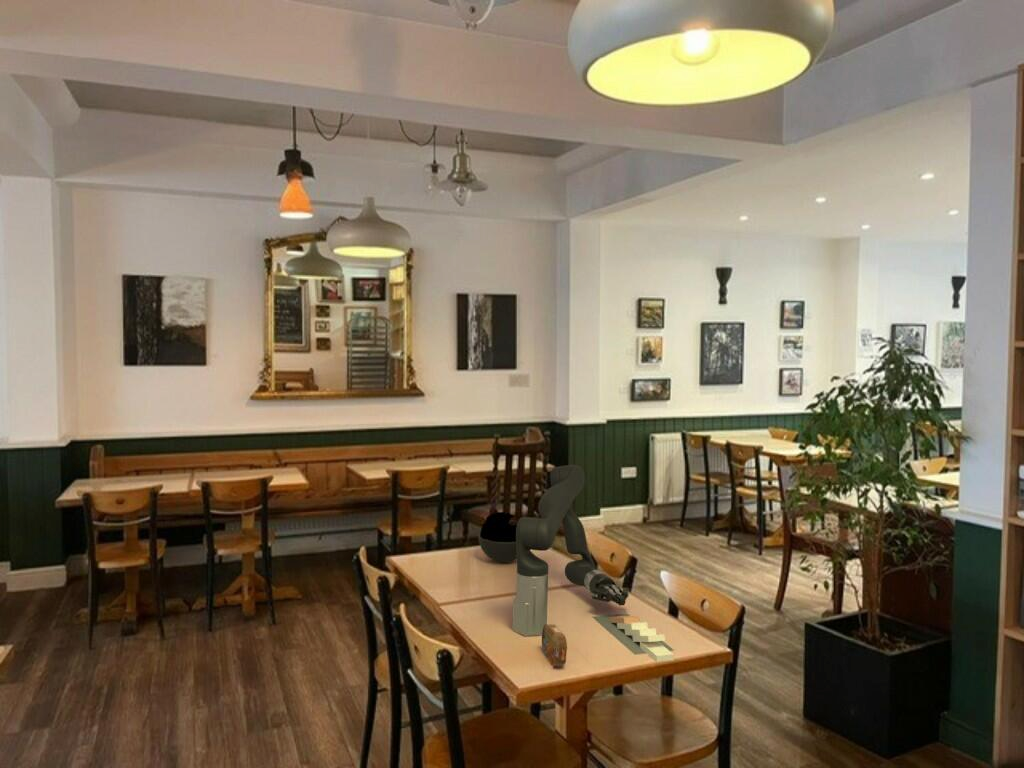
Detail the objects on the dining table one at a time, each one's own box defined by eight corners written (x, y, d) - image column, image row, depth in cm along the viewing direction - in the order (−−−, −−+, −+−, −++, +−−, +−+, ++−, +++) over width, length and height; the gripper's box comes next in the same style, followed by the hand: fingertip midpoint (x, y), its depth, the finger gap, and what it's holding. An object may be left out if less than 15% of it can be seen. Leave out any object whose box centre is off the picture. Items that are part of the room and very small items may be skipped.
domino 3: (624, 629, 220) (639, 629, 211) (640, 627, 221) (655, 628, 212) (625, 635, 219) (640, 635, 210) (640, 633, 221) (656, 634, 212)
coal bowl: (507, 552, 309) (508, 506, 308) (540, 563, 293) (541, 515, 293) (467, 559, 296) (468, 512, 295) (499, 572, 281) (500, 521, 280)
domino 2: (616, 622, 225) (631, 623, 216) (632, 621, 226) (647, 622, 217) (617, 628, 224) (631, 629, 215) (632, 627, 226) (647, 628, 217)
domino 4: (632, 635, 215) (647, 635, 206) (648, 634, 216) (664, 634, 207) (633, 641, 214) (648, 642, 205) (649, 640, 216) (665, 640, 207)
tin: (540, 649, 209) (541, 619, 208) (551, 648, 210) (552, 618, 209) (556, 672, 194) (557, 639, 194) (568, 671, 195) (569, 639, 195)
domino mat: (591, 618, 234) (591, 616, 234) (627, 615, 238) (627, 613, 238) (634, 656, 205) (634, 654, 205) (674, 652, 209) (674, 650, 209)
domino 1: (610, 617, 230) (623, 617, 220) (625, 615, 231) (639, 616, 222) (610, 622, 229) (624, 623, 220) (625, 621, 231) (639, 621, 221)
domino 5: (639, 641, 210) (656, 656, 201) (656, 640, 212) (673, 654, 202) (639, 647, 210) (656, 661, 201) (656, 645, 212) (673, 660, 202)
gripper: (580, 574, 241) (602, 591, 225) (618, 571, 245) (643, 588, 229) (580, 597, 242) (601, 616, 225) (618, 594, 246) (642, 612, 229)
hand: (622, 602), depth 227 cm, fingers closed
